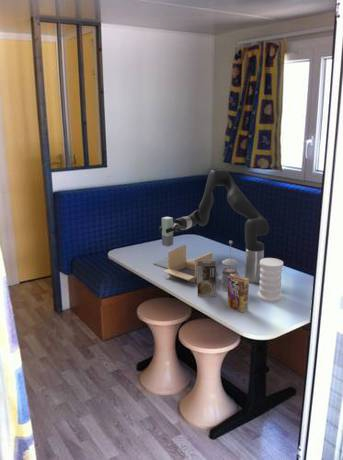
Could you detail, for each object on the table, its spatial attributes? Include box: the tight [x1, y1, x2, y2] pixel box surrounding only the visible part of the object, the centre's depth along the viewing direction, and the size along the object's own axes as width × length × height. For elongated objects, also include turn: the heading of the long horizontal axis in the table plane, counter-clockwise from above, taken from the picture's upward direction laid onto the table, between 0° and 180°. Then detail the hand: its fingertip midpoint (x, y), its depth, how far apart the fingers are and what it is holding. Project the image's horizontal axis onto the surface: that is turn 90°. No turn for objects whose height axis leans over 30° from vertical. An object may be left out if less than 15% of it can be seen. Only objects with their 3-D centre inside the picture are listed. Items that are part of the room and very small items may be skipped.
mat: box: [152, 257, 168, 270], centre depth 258 cm, size 12×12×1 cm
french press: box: [219, 240, 239, 293], centre depth 221 cm, size 10×12×25 cm
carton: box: [162, 244, 218, 284], centre depth 240 cm, size 19×24×13 cm
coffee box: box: [196, 260, 217, 298], centre depth 216 cm, size 9×6×16 cm
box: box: [161, 216, 174, 247], centre depth 252 cm, size 4×4×16 cm
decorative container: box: [256, 257, 284, 303], centre depth 212 cm, size 12×12×18 cm
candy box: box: [226, 274, 250, 313], centre depth 201 cm, size 9×4×15 cm, turn 47°
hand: (163, 230), depth 249 cm, fingers closed on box, 4 cm apart
